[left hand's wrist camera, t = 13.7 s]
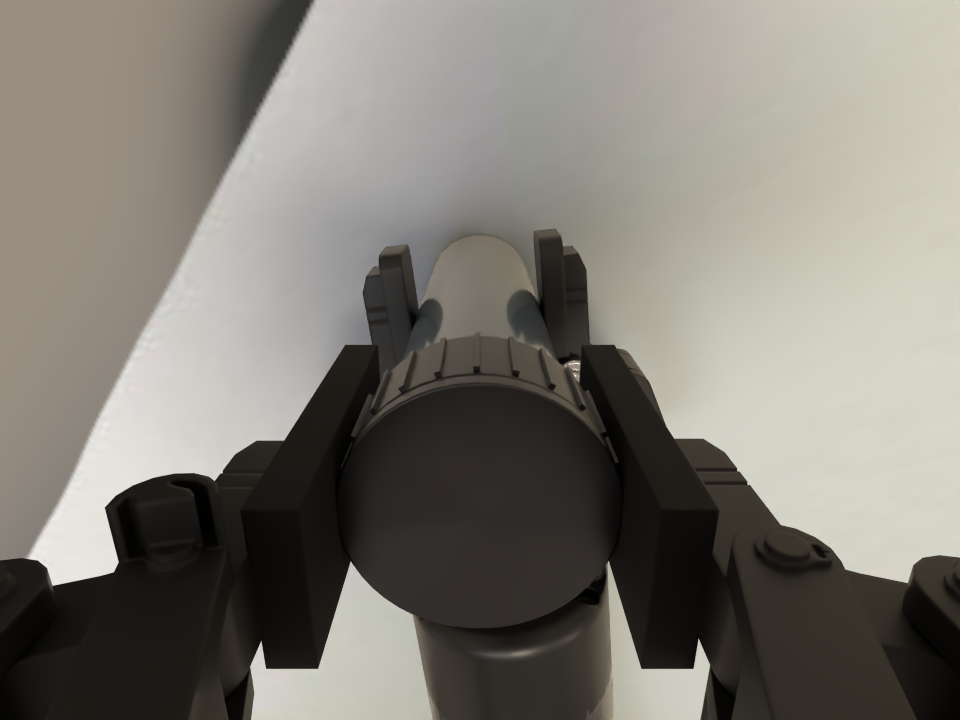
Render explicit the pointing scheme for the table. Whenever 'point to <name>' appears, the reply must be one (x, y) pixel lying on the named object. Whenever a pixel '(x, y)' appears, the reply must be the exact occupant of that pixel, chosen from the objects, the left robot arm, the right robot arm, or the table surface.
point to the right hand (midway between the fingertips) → (469, 244)
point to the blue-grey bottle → (479, 297)
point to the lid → (479, 485)
